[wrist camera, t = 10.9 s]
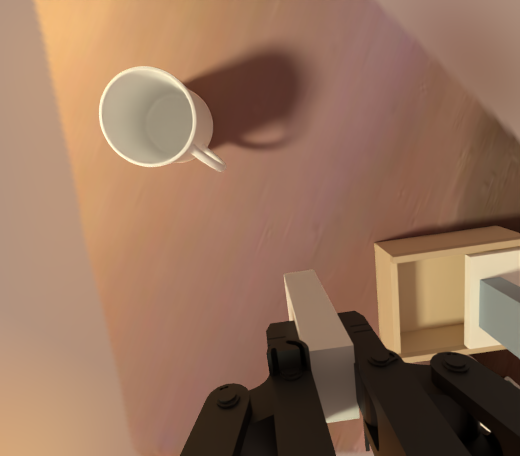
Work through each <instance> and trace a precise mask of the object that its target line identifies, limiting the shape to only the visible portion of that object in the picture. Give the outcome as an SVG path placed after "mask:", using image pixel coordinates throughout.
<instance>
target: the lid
mask: <svg viewBox="0 0 520 456" xmlns="http://www.w3.org/2000/svg"><path fill="white" fill-rule="evenodd" d="M464 345H465V346H466V347H467V348H469V349H475V348H482V347H489V346H496V345H503V346H504V347H505V348H507V349H508V350H509V351H510V352H512V353H513V354H514V355H516V356H517V357H518V358H519V359H520V247H514V248H507V249H500V250H493V251H486V252H479V253H472V254H465V315H464Z"/></svg>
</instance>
